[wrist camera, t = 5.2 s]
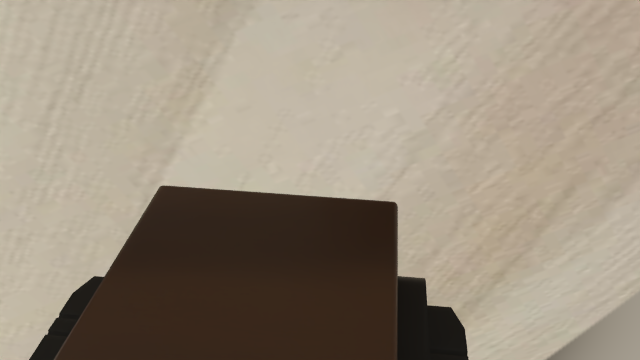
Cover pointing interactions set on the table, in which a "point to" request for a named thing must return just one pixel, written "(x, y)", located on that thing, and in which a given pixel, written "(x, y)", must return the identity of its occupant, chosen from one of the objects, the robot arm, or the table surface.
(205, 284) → the tile
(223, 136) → the table surface
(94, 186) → the table surface
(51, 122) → the table surface
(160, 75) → the table surface
